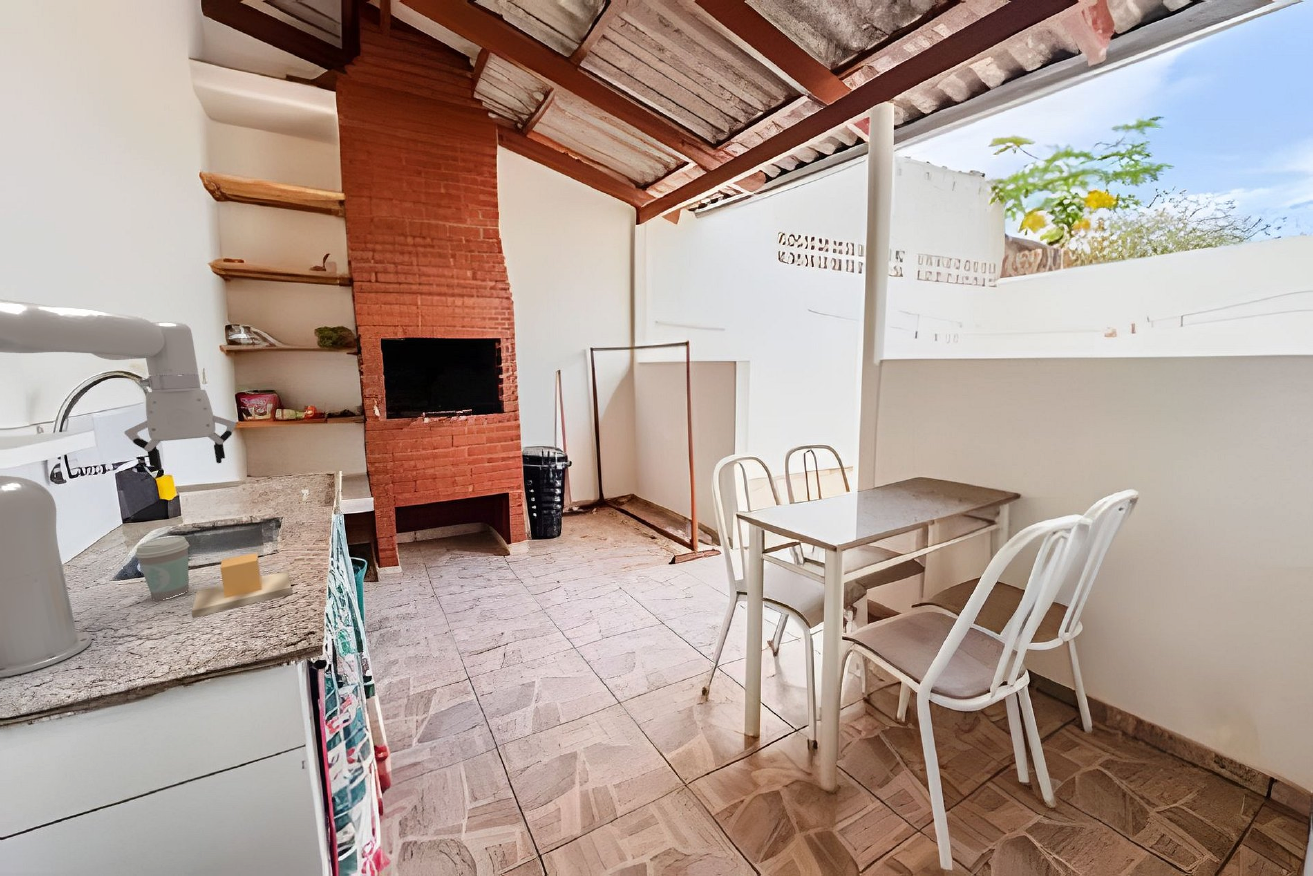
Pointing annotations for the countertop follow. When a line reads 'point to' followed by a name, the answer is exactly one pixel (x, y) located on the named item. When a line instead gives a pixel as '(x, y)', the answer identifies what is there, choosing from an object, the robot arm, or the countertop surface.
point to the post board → (241, 595)
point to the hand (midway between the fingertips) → (189, 465)
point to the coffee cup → (165, 566)
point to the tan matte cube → (241, 575)
